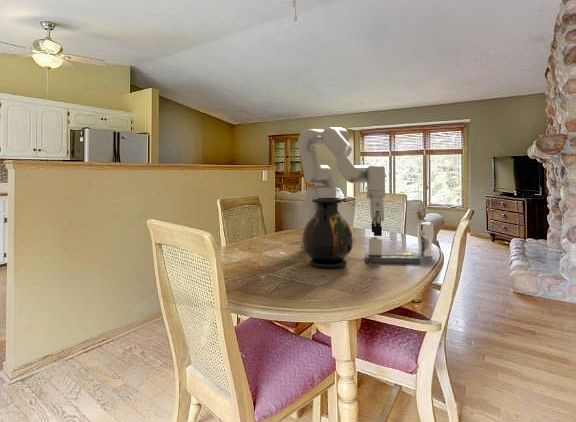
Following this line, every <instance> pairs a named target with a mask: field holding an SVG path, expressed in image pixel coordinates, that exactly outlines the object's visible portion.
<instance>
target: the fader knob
mask: <svg viewBox="0 0 576 422" xmlns="http://www.w3.org/2000/svg"><path fill="white" fill-rule="evenodd" d="M382 241H383V239H382V236H368V253H369V255H382V253H383V252H382V249H383V248H382V247H383V246H382V244H383V243H382Z"/></svg>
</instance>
